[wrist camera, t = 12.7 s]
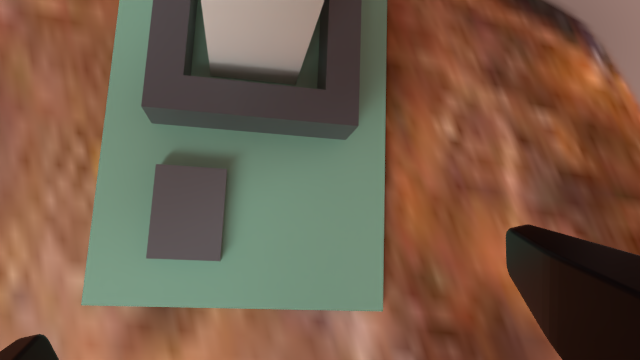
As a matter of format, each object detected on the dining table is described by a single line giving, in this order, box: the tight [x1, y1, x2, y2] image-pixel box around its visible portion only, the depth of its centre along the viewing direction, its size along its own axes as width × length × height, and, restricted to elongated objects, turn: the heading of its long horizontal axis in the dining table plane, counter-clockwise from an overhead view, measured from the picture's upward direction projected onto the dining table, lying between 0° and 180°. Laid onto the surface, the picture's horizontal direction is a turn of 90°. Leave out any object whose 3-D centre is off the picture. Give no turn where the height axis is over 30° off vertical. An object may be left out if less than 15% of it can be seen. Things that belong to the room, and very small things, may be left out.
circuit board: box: [81, 0, 387, 311], centre depth 21 cm, size 17×13×3 cm
